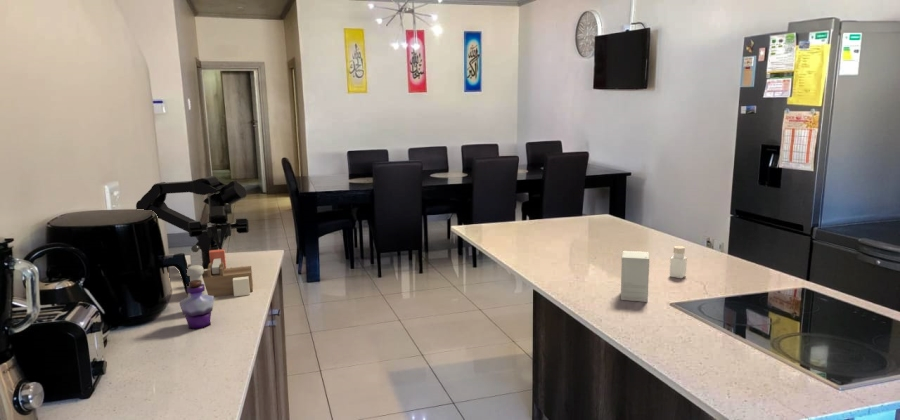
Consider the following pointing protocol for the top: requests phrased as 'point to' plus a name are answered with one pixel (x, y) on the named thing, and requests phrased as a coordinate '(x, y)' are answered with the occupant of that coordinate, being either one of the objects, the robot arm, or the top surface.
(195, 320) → the potion bottle
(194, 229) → the robot arm
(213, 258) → the red plunger
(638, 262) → the supplement box
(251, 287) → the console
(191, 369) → the top surface
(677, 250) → the pepper shaker
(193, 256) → the lever
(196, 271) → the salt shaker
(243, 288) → the cream button
